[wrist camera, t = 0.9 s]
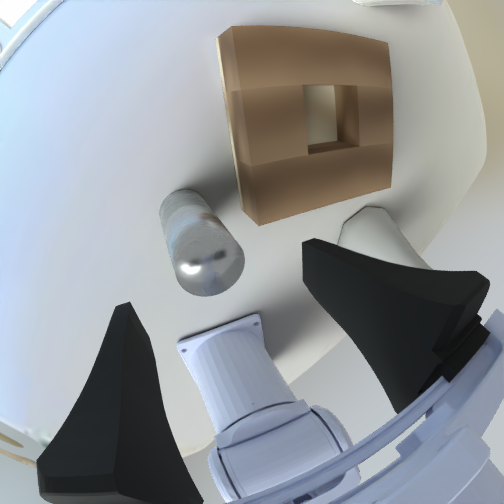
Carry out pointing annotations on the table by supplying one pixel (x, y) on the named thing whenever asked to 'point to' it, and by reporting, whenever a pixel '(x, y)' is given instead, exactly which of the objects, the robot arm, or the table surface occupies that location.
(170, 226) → the pin
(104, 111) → the table surface
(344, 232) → the flask
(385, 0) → the shot glass
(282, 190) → the bore block
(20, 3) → the calculator
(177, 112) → the table surface
